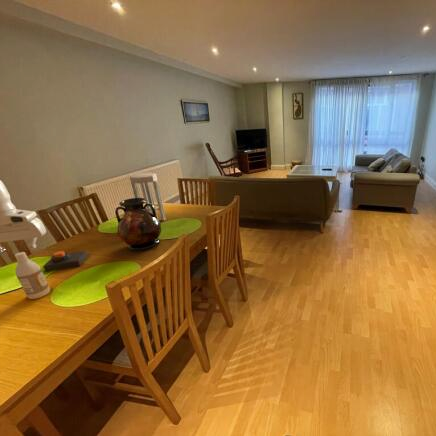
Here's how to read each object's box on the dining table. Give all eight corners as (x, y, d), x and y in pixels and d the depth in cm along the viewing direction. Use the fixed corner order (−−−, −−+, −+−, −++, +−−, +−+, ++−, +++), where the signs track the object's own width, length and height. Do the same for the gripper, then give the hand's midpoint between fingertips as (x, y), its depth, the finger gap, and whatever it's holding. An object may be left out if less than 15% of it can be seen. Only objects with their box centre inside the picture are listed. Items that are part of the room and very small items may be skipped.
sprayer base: (45, 271, 118) (41, 263, 116) (56, 260, 128) (53, 252, 126) (80, 266, 123) (76, 257, 121) (88, 255, 132) (85, 247, 130)
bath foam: (45, 297, 101) (25, 256, 93) (24, 301, 98) (2, 259, 91) (54, 287, 107) (36, 248, 99) (34, 291, 104) (14, 251, 97)
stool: (150, 218, 184) (139, 172, 170) (170, 218, 183) (160, 172, 170) (137, 226, 169) (124, 177, 156) (158, 226, 169) (147, 177, 155)
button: (53, 258, 120) (51, 255, 120) (57, 255, 124) (55, 251, 123) (63, 257, 122) (61, 253, 121) (66, 253, 125) (65, 250, 124)
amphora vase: (165, 234, 156) (156, 193, 146) (163, 250, 138) (152, 203, 127) (127, 240, 148) (114, 197, 138) (119, 257, 130) (103, 209, 119)
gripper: (-45, 224, 83) (-24, 259, 88) (31, 216, 90) (45, 249, 95) (-30, 218, 89) (-11, 251, 94) (40, 211, 95) (54, 242, 100)
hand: (18, 250), depth 94 cm, fingers open, 8 cm apart
